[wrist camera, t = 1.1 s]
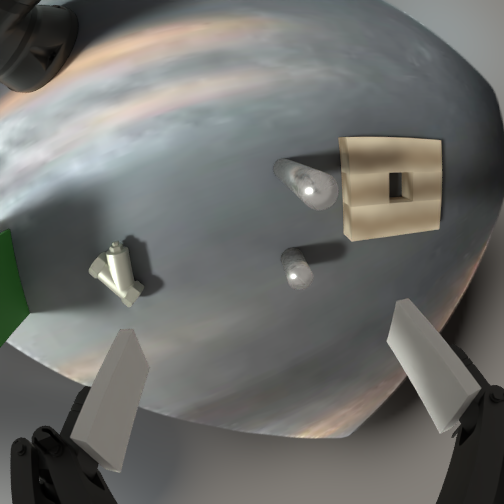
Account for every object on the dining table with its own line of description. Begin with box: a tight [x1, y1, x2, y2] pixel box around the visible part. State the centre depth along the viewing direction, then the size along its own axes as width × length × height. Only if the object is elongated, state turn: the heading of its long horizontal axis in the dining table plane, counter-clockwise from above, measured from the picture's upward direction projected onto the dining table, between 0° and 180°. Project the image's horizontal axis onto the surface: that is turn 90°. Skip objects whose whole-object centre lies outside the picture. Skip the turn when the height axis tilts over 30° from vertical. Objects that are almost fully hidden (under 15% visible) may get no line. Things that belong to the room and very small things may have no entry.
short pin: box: [281, 248, 313, 290], centre depth 34 cm, size 3×3×6 cm
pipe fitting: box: [89, 241, 144, 307], centre depth 35 cm, size 8×4×7 cm
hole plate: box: [338, 137, 442, 241], centre depth 32 cm, size 13×15×3 cm
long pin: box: [273, 159, 338, 210], centre depth 25 cm, size 3×3×16 cm
